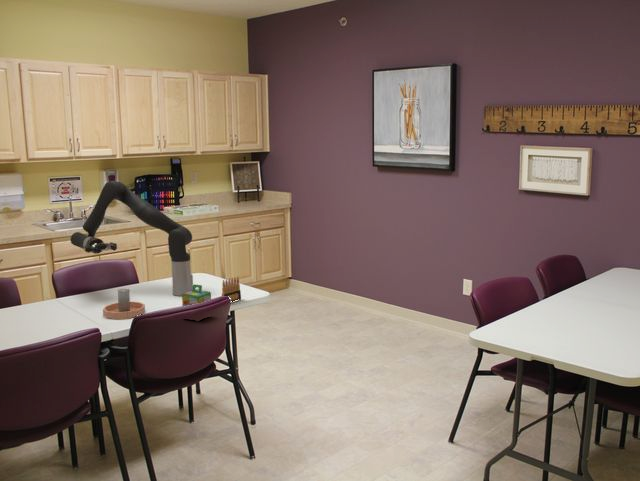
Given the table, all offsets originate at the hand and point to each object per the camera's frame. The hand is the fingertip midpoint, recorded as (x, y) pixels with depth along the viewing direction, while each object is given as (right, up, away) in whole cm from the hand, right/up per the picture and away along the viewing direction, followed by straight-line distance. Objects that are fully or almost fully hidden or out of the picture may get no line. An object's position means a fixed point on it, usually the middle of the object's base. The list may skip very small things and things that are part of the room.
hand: (106, 249), depth 293 cm
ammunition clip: (+58, -25, +4) cm, 64 cm away
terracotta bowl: (+13, -29, -13) cm, 34 cm away
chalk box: (+47, -30, -21) cm, 60 cm away
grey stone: (+13, -28, -13) cm, 33 cm away
